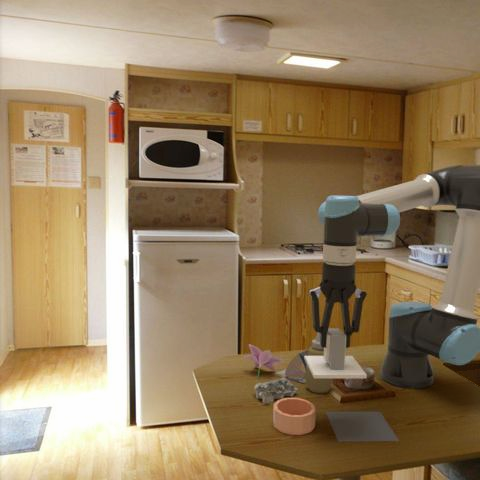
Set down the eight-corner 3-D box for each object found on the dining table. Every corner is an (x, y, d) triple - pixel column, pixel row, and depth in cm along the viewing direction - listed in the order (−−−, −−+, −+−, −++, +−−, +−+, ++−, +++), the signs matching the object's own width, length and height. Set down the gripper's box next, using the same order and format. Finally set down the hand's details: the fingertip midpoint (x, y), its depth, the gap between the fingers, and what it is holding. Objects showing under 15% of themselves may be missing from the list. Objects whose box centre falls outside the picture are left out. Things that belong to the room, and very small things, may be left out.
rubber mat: (379, 413, 128) (380, 411, 128) (399, 443, 114) (399, 440, 114) (325, 414, 127) (325, 411, 127) (338, 443, 114) (338, 441, 113)
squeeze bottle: (299, 386, 143) (300, 326, 141) (323, 382, 146) (325, 323, 144) (313, 398, 136) (315, 334, 134) (338, 393, 139) (341, 331, 137)
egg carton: (265, 407, 132) (265, 392, 131) (251, 395, 138) (251, 381, 138) (299, 399, 136) (299, 384, 136) (284, 388, 143) (285, 374, 142)
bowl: (310, 416, 126) (311, 397, 125) (317, 436, 116) (318, 416, 116) (271, 416, 126) (272, 397, 125) (275, 437, 116) (276, 416, 115)
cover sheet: (351, 358, 125) (353, 324, 124) (366, 378, 113) (368, 340, 112) (304, 358, 124) (305, 324, 123) (314, 378, 112) (315, 340, 111)
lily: (288, 382, 149) (290, 350, 152) (260, 376, 142) (263, 342, 145) (260, 382, 157) (262, 352, 161) (232, 377, 150) (235, 345, 154)
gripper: (307, 265, 111) (303, 366, 114) (378, 266, 112) (372, 366, 115) (301, 259, 118) (297, 354, 121) (368, 260, 119) (362, 354, 122)
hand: (334, 360), depth 118 cm, fingers closed on cover sheet, 3 cm apart
